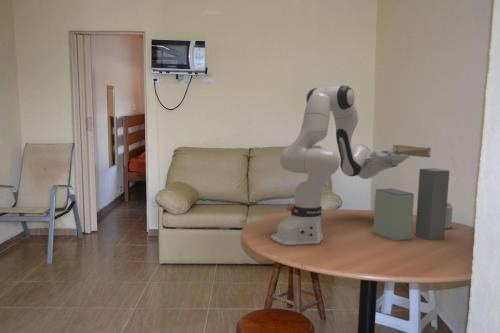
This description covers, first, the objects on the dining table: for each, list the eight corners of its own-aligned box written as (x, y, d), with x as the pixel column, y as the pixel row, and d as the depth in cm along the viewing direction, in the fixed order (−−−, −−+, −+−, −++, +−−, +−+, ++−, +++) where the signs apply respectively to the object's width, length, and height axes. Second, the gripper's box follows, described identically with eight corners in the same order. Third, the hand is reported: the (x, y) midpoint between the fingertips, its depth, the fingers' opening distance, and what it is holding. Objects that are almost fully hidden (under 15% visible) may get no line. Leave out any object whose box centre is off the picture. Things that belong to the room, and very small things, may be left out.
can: (453, 229, 210) (455, 204, 209) (437, 229, 211) (439, 204, 209) (446, 225, 218) (448, 201, 216) (431, 225, 218) (433, 201, 217)
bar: (425, 157, 190) (426, 148, 189) (392, 153, 208) (393, 144, 207) (430, 157, 191) (430, 148, 190) (396, 153, 209) (397, 144, 208)
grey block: (395, 240, 190) (398, 194, 187) (373, 232, 202) (375, 189, 200) (411, 238, 193) (414, 193, 191) (388, 230, 206) (391, 188, 203)
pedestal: (429, 240, 192) (434, 171, 188) (415, 235, 199) (419, 169, 195) (444, 237, 196) (449, 170, 192) (430, 233, 203) (434, 168, 199)
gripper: (362, 155, 213) (380, 142, 202) (395, 154, 222) (414, 142, 210) (366, 167, 211) (384, 155, 200) (399, 166, 220) (418, 154, 208)
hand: (400, 148), depth 205 cm, fingers closed on bar, 2 cm apart
